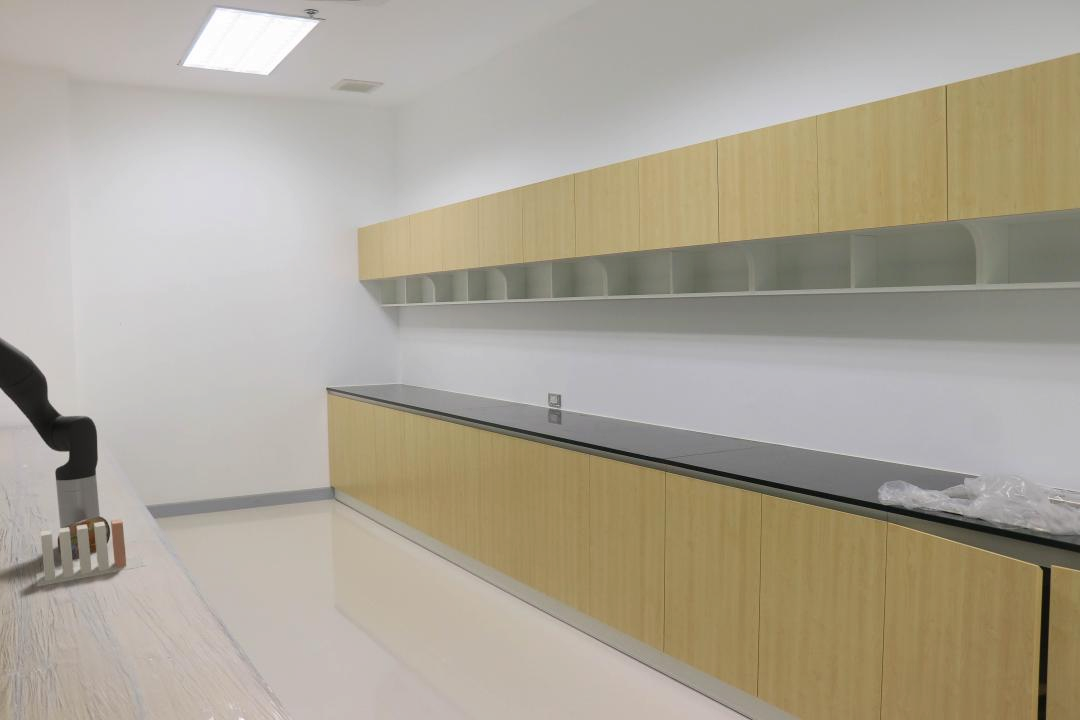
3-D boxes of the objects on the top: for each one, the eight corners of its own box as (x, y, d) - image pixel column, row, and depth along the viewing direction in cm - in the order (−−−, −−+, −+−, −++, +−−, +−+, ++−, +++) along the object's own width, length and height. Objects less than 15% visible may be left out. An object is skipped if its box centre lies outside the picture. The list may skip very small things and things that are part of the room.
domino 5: (114, 562, 192) (110, 520, 191) (124, 561, 193) (120, 518, 193) (116, 567, 188) (112, 524, 187) (126, 565, 189) (122, 522, 188)
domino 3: (80, 569, 188) (76, 525, 188) (90, 567, 189) (86, 524, 189) (81, 574, 184) (77, 529, 184) (91, 572, 185) (87, 528, 185)
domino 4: (97, 566, 190) (93, 523, 190) (107, 564, 191) (103, 521, 191) (99, 570, 186) (95, 526, 185) (109, 568, 187) (105, 525, 186)
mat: (36, 575, 187) (36, 573, 187) (139, 556, 198) (138, 555, 198) (37, 588, 177) (37, 586, 177) (145, 567, 188) (145, 565, 188)
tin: (67, 563, 196) (64, 528, 196) (56, 563, 197) (53, 528, 197) (112, 545, 211) (109, 513, 211) (101, 545, 212) (99, 513, 211)
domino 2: (62, 572, 186) (58, 528, 186) (72, 570, 187) (68, 527, 187) (63, 577, 182) (59, 532, 182) (73, 575, 183) (69, 531, 183)
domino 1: (44, 575, 185) (40, 531, 184) (54, 573, 186) (50, 530, 185) (45, 581, 180) (40, 535, 180) (55, 579, 181) (51, 534, 181)
